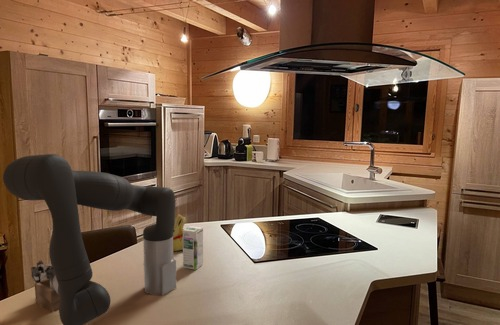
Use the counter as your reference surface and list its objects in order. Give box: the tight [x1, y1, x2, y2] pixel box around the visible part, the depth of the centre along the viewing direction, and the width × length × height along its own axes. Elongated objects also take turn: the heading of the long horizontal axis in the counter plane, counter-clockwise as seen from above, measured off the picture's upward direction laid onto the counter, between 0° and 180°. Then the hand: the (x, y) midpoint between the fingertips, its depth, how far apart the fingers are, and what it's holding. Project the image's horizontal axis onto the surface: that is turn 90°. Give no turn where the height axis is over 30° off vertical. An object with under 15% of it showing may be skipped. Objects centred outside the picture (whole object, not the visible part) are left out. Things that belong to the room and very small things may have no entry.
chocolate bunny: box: [173, 213, 187, 252], centre depth 146 cm, size 7×11×15 cm, turn 116°
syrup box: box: [182, 225, 204, 271], centre depth 131 cm, size 6×6×14 cm
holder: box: [34, 278, 60, 312], centre depth 106 cm, size 9×9×6 cm
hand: (56, 260), depth 106 cm, fingers open, 8 cm apart
